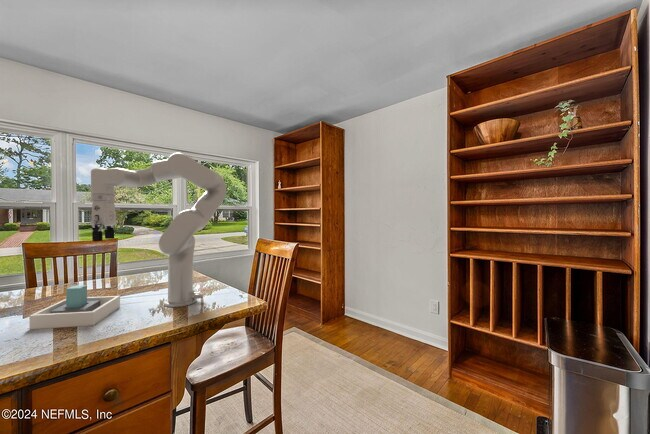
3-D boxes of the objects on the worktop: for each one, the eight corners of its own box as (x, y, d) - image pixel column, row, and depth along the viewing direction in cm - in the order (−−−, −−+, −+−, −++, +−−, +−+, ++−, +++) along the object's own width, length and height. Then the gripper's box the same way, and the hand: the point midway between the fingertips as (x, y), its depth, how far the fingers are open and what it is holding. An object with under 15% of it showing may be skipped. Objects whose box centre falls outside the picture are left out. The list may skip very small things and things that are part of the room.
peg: (87, 310, 104) (86, 285, 104) (80, 315, 100) (79, 288, 100) (73, 311, 103) (73, 285, 103) (66, 316, 99) (66, 288, 99)
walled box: (120, 306, 111) (120, 295, 111) (93, 325, 93) (93, 312, 93) (67, 309, 107) (67, 298, 107) (29, 329, 89) (29, 315, 89)
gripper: (103, 198, 105) (103, 242, 106) (123, 199, 122) (123, 237, 123) (79, 197, 103) (80, 242, 104) (103, 199, 120) (103, 237, 121)
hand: (103, 239), depth 113 cm, fingers open, 9 cm apart
